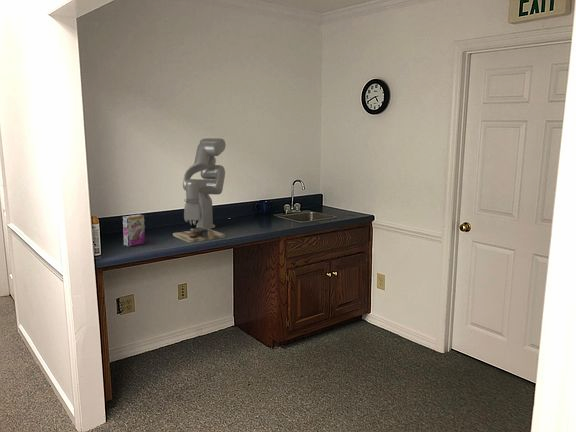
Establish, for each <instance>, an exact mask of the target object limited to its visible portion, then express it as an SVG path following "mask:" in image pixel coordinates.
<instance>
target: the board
mask: <svg viewBox="0 0 576 432" xmlns="http://www.w3.org/2000/svg"><path fill="white" fill-rule="evenodd" d="M207 230H208V237H206V238H201V234H200V235H199V236H197V237H195V238H190V234H189V233H191V232H192V231H191V230H187V231H186V230H185V231H181V232H180V231H179V232H173V233H172V236H173V237H175V238H177V239H180V240H182V241H185V242H186V243H197V242H202V241H203V240H204V241H207V240H208V241H210V240H215V239H217V240H218V239H224V238H226V237H227V234H225V233H222V232H219V231H217V230H215V229H214V230H213V229H207ZM204 241H203V242H204Z"/></svg>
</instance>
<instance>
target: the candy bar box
mask: <svg viewBox="0 0 576 432" xmlns="http://www.w3.org/2000/svg"><path fill="white" fill-rule="evenodd" d="M145 223H146V222H145V215H144V214H133V215H128V216H122V227H123V229H122V232H123V233H122V235H123V246H125V247H132V246H133V247H134V246H138V245H142V244H146V231H145V229H146V228H145V227H146V226H145V225H146V224H145Z"/></svg>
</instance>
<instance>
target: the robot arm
mask: <svg viewBox="0 0 576 432" xmlns="http://www.w3.org/2000/svg"><path fill="white" fill-rule="evenodd" d="M225 150H226V140H225V139H223V138H220V137H219V138H217V137H216V138H215V137H214V138H210V137H209V138H206V137H205V138H202V139H201V140H200V141H199V144H198V145H197V148H196V151H195V152H196V153H195V157H194V162H193V164H192V165H190V167H188V169H187V170H186V171H185V173H184V176H183V181H182V187H183V188H182V189H183V190H184V191H185V199H184V200H183V201H184V202H185V204H184V208H183V209H184V210H183V218H184V221H185V222H186V223H188V224H189V225H190V229H193V228H195V229H196V228H199V227H201V228H204V229H211V230H213V229H215V228H216V225H215V224H214V223H213V222H214V221H213V200H212V198H211V196H210V195H221V194H222V192H223V188H224V183H225V177H226V170H225V167H224V166H223V165H222V164H221V165H220V164H216V163H217V159H216V157H219V156H220V155H221V154H222V153H223V152H225ZM199 172H200V177H201V179H199V178H196V179H195V178H192V177H193V175H195V174H197V173H199Z"/></svg>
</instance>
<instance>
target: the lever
mask: <svg viewBox="0 0 576 432" xmlns="http://www.w3.org/2000/svg"><path fill="white" fill-rule="evenodd" d="M189 231H192V232H191V233H189V234H190V238H195V237H197V236H199V235H200V234H201V232H199V231H196V229H195V228H193V229H191V228H190V230H189Z"/></svg>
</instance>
